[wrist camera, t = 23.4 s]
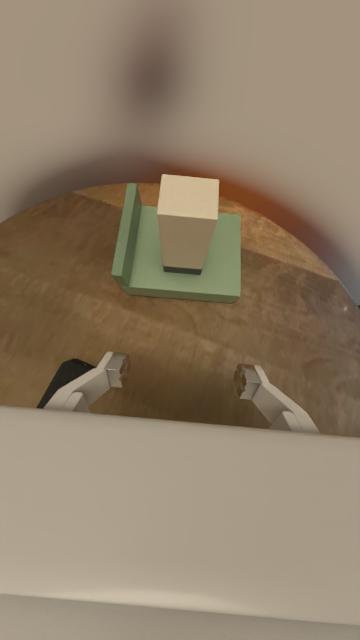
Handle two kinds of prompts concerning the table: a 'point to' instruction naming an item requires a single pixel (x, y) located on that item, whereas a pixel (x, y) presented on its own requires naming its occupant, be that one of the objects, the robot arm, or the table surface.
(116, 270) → the green l-shaped bracket
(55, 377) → the remote control
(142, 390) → the table surface
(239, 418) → the table surface
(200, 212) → the beige stepped block
